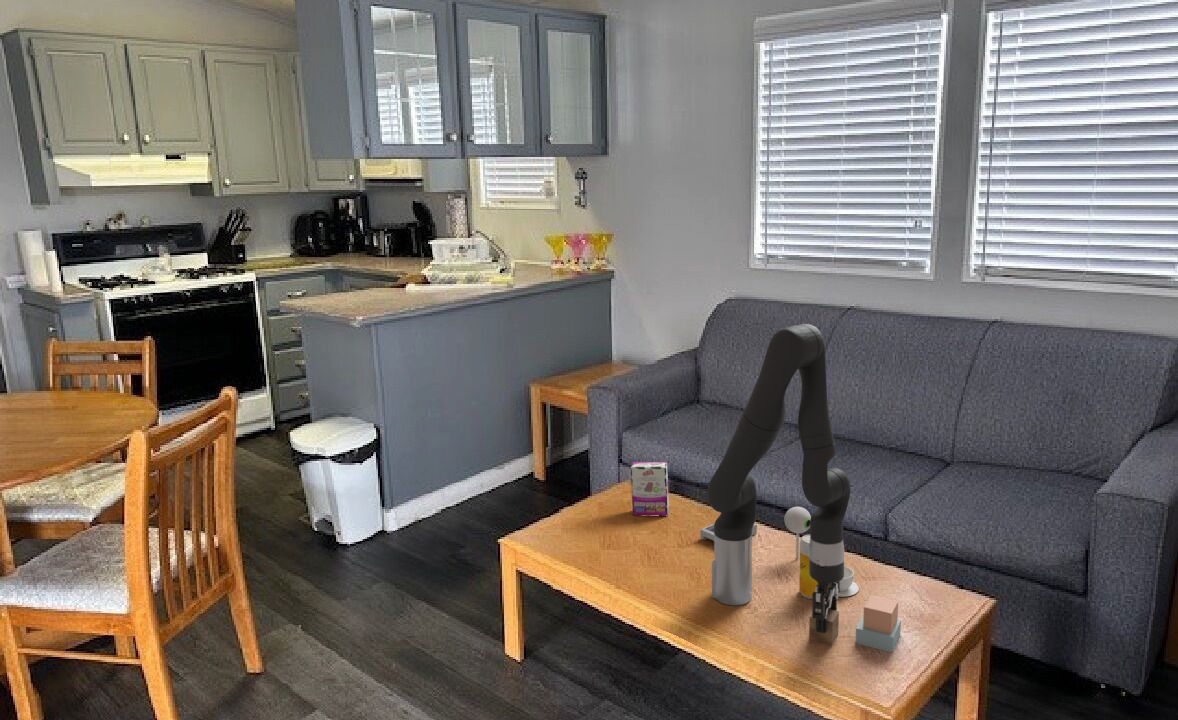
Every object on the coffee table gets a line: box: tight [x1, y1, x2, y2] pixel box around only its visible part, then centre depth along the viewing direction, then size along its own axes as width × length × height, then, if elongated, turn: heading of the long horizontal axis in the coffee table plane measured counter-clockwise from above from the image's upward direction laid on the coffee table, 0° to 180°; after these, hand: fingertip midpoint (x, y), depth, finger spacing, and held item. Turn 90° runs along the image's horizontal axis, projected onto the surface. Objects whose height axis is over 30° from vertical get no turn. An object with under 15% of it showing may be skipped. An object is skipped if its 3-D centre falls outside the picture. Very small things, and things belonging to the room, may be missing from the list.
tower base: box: [855, 613, 902, 653], centre depth 187 cm, size 8×8×4 cm
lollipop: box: [783, 506, 812, 560], centre depth 225 cm, size 7×7×15 cm
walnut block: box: [808, 609, 840, 647], centre depth 188 cm, size 5×5×6 cm
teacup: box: [838, 565, 860, 598], centre depth 210 cm, size 10×10×5 cm
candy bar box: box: [630, 461, 670, 517], centre depth 259 cm, size 11×5×16 cm, turn 81°
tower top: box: [863, 594, 899, 634], centre depth 186 cm, size 6×6×5 cm
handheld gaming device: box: [699, 522, 758, 542], centre depth 241 cm, size 9×15×4 cm, turn 128°
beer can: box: [798, 533, 818, 600], centre depth 206 cm, size 6×6×15 cm
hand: (826, 622), depth 188 cm, fingers open, 8 cm apart
